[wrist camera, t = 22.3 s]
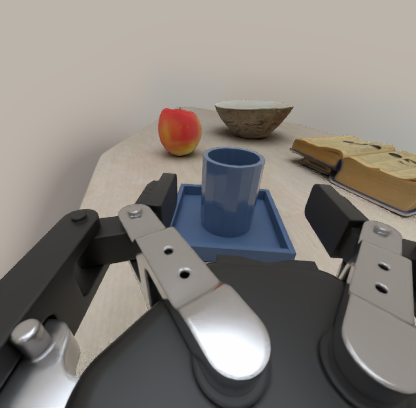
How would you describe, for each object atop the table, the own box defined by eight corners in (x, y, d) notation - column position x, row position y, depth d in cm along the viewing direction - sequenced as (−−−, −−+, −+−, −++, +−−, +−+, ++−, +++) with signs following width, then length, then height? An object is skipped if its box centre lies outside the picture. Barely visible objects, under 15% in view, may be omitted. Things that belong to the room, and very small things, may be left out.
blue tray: (161, 258, 21) (159, 243, 20) (181, 194, 32) (181, 183, 31) (291, 267, 21) (296, 253, 20) (265, 200, 32) (268, 189, 31)
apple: (184, 164, 43) (183, 112, 38) (150, 154, 47) (145, 107, 42) (207, 153, 50) (210, 108, 45) (176, 145, 54) (175, 103, 49)
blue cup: (198, 235, 23) (200, 164, 19) (202, 205, 29) (205, 145, 24) (254, 239, 23) (270, 169, 19) (248, 208, 29) (259, 148, 24)
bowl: (198, 134, 66) (199, 99, 61) (235, 124, 83) (238, 96, 77) (267, 150, 55) (276, 109, 49) (294, 135, 71) (302, 103, 66)
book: (458, 199, 36) (484, 167, 32) (404, 218, 30) (430, 181, 26) (333, 154, 55) (342, 131, 52) (285, 160, 49) (291, 134, 46)
